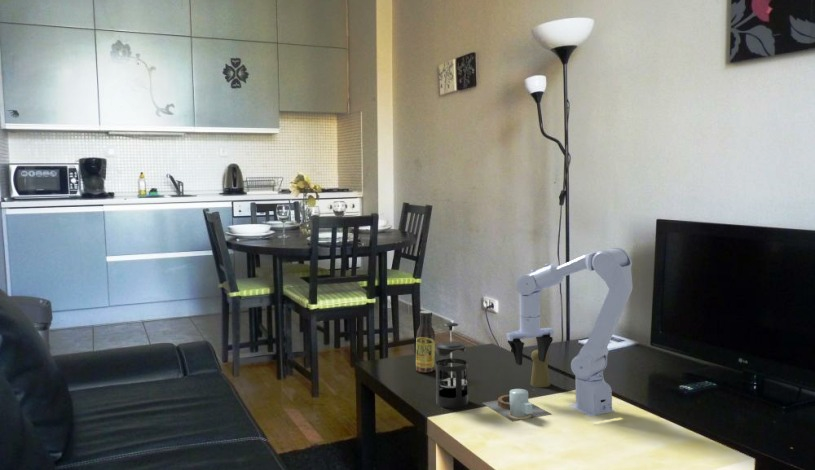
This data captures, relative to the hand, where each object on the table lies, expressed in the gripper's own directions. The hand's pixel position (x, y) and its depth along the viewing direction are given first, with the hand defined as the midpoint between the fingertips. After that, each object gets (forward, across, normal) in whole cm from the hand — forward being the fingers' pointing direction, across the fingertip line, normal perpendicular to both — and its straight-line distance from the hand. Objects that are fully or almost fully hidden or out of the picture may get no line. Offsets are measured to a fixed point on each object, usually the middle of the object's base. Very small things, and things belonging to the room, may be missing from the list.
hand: (530, 362), depth 183 cm
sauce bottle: (+10, +16, -38) cm, 42 cm away
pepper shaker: (+10, -8, -7) cm, 15 cm away
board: (+10, +10, +8) cm, 16 cm away
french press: (+10, +23, -4) cm, 26 cm away
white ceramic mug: (+9, +12, +14) cm, 21 cm away
